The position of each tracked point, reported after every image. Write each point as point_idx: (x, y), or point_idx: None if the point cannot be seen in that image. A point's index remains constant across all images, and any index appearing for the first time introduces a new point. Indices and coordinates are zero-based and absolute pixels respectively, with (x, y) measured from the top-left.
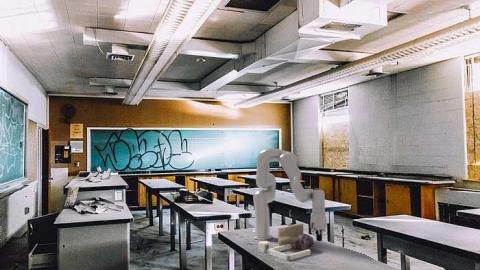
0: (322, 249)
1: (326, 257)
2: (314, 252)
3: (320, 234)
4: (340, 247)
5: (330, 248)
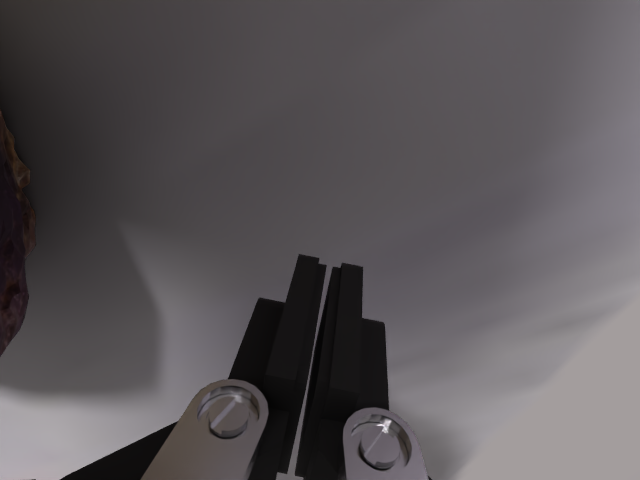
0: (202, 350)
1: (13, 464)
2: None
3: (308, 470)
4: (444, 463)
5: None
